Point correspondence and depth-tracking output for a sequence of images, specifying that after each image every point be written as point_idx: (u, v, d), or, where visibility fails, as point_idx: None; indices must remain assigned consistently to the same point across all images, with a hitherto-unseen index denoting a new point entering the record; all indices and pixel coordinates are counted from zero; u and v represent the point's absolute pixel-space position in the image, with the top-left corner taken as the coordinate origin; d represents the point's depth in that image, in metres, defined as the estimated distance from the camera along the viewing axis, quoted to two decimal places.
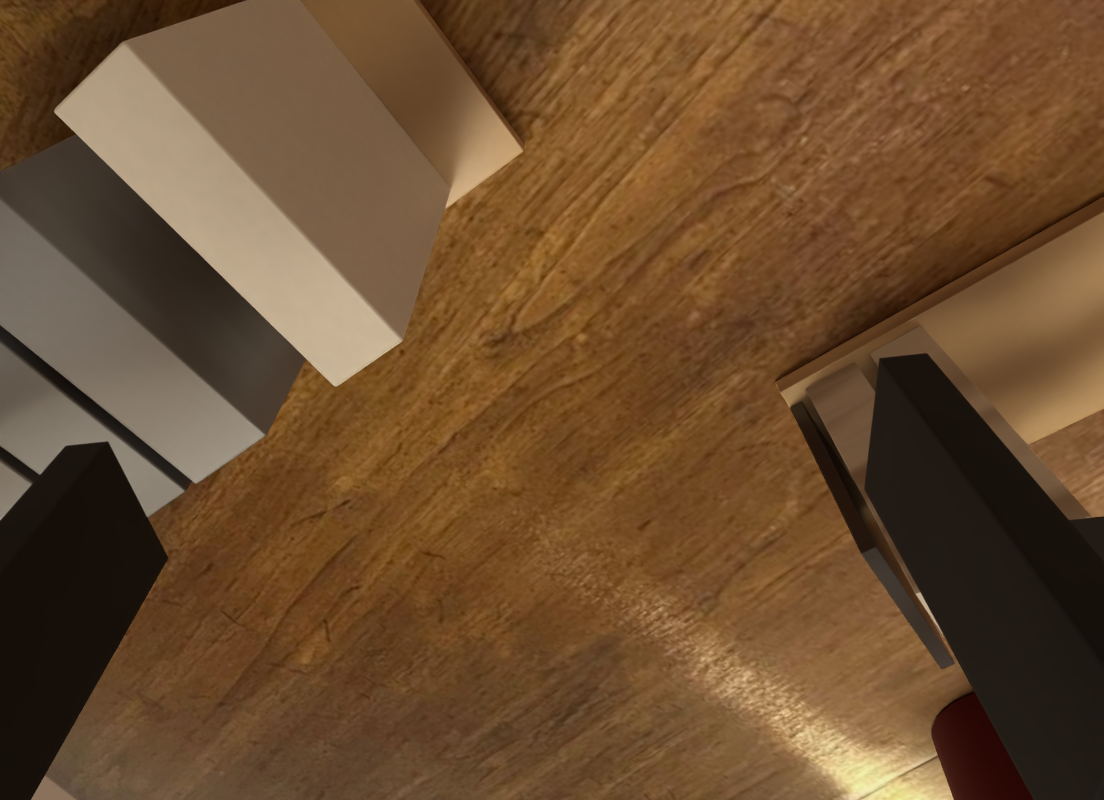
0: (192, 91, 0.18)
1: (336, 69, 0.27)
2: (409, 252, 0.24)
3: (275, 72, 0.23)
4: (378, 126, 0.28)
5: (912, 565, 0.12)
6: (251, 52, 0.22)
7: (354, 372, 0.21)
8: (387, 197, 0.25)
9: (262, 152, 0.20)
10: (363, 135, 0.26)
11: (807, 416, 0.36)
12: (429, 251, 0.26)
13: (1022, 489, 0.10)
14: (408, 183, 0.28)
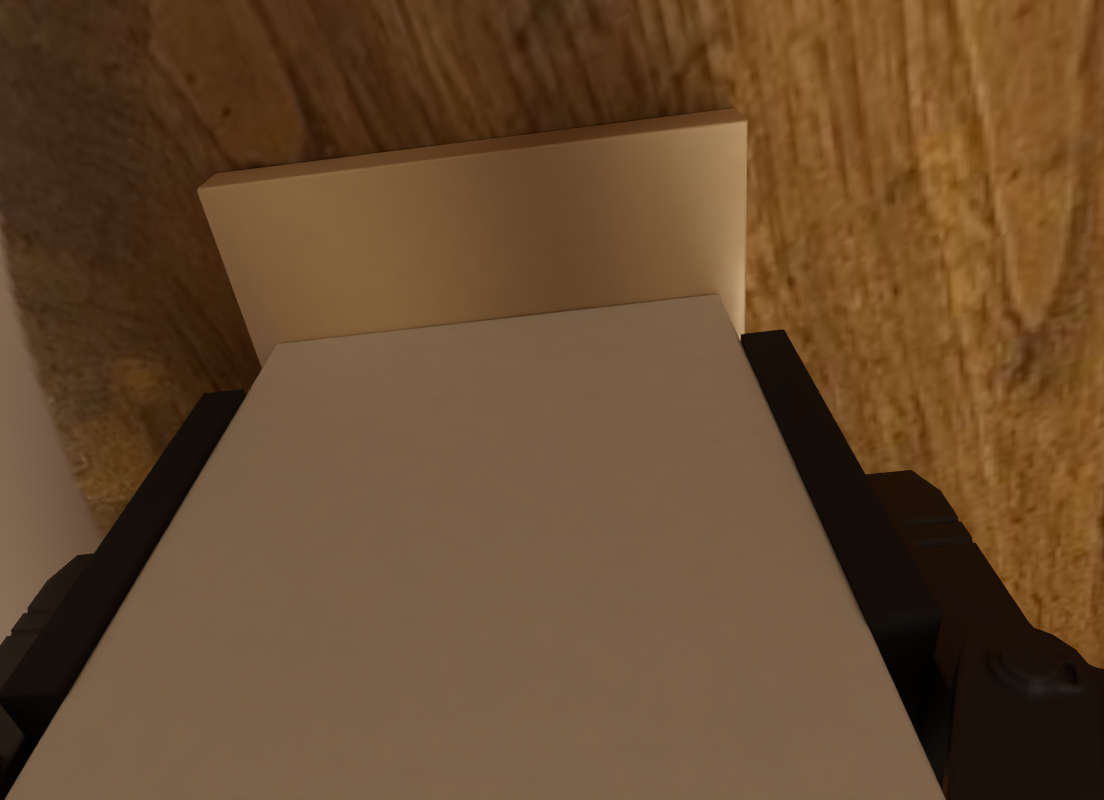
0: None
1: (407, 376, 0.14)
2: (794, 627, 0.09)
3: (276, 588, 0.10)
4: (531, 376, 0.14)
5: None
6: (208, 618, 0.10)
7: None
8: (643, 528, 0.10)
9: None
10: (515, 442, 0.12)
11: None
12: (818, 528, 0.10)
13: (831, 444, 0.11)
14: (655, 411, 0.12)
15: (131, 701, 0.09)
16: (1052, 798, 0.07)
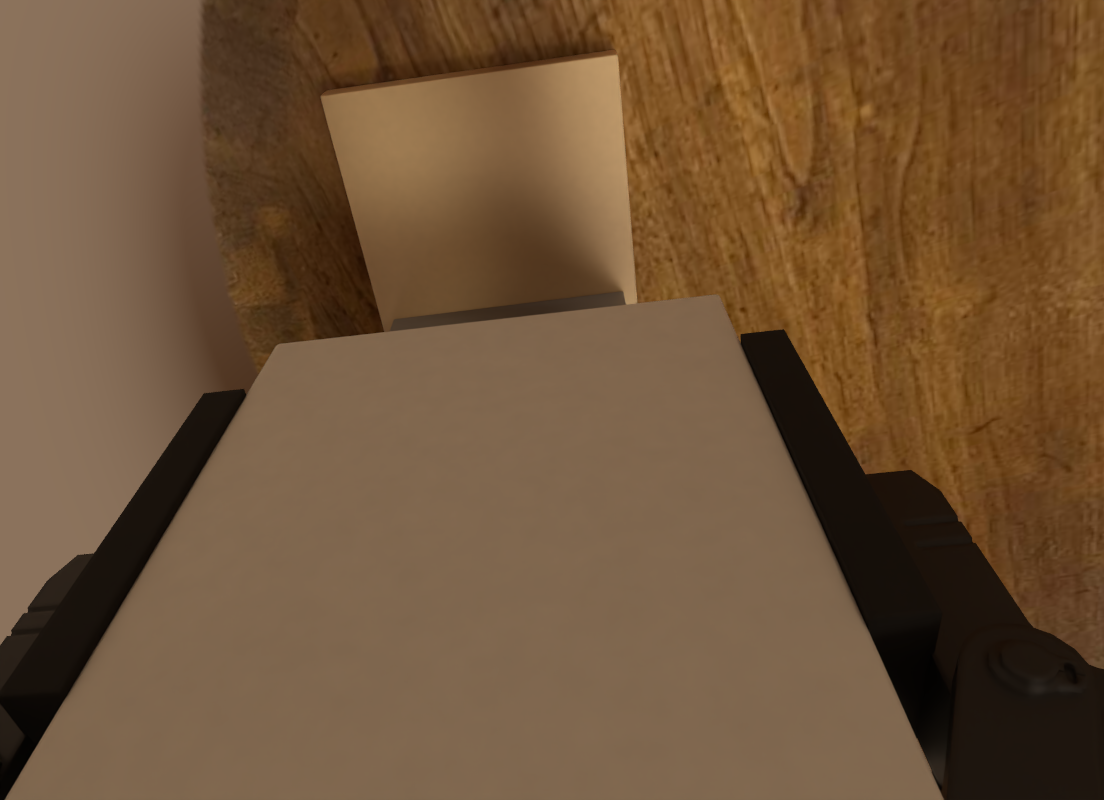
0: None
1: (407, 376, 0.14)
2: (792, 626, 0.09)
3: (276, 588, 0.10)
4: (530, 375, 0.14)
5: None
6: (208, 617, 0.10)
7: None
8: (643, 528, 0.10)
9: None
10: (514, 442, 0.12)
11: None
12: (816, 528, 0.10)
13: (830, 444, 0.11)
14: (653, 411, 0.12)
15: (131, 700, 0.09)
16: (1052, 798, 0.07)
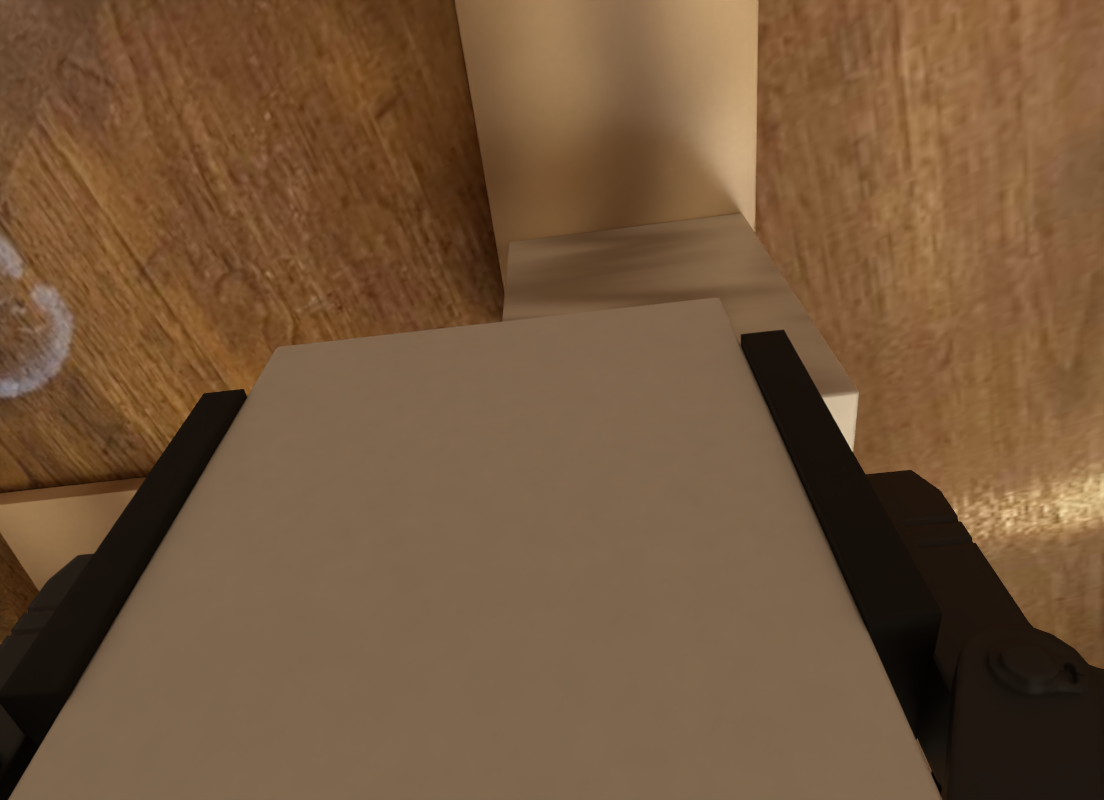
0: None
1: (407, 380, 0.14)
2: (793, 632, 0.09)
3: (277, 592, 0.10)
4: (531, 379, 0.14)
5: None
6: (209, 623, 0.10)
7: None
8: (643, 533, 0.10)
9: None
10: (515, 446, 0.12)
11: None
12: (817, 533, 0.10)
13: (831, 444, 0.11)
14: (654, 415, 0.12)
15: (131, 706, 0.09)
16: (1052, 798, 0.07)
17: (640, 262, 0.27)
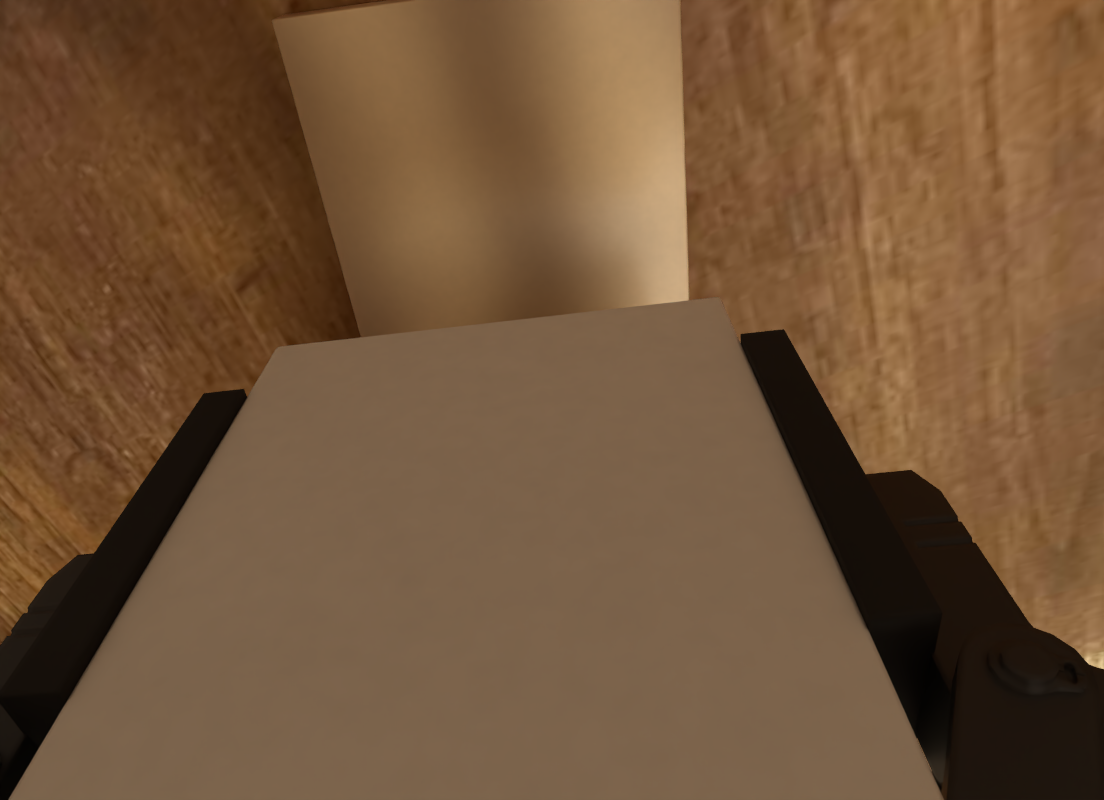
0: None
1: (407, 380, 0.14)
2: (794, 632, 0.09)
3: (276, 592, 0.10)
4: (531, 379, 0.14)
5: None
6: (209, 623, 0.10)
7: None
8: (644, 533, 0.10)
9: None
10: (515, 446, 0.12)
11: None
12: (818, 533, 0.10)
13: (831, 444, 0.11)
14: (655, 415, 0.12)
15: (131, 707, 0.09)
16: (1052, 798, 0.07)
17: None
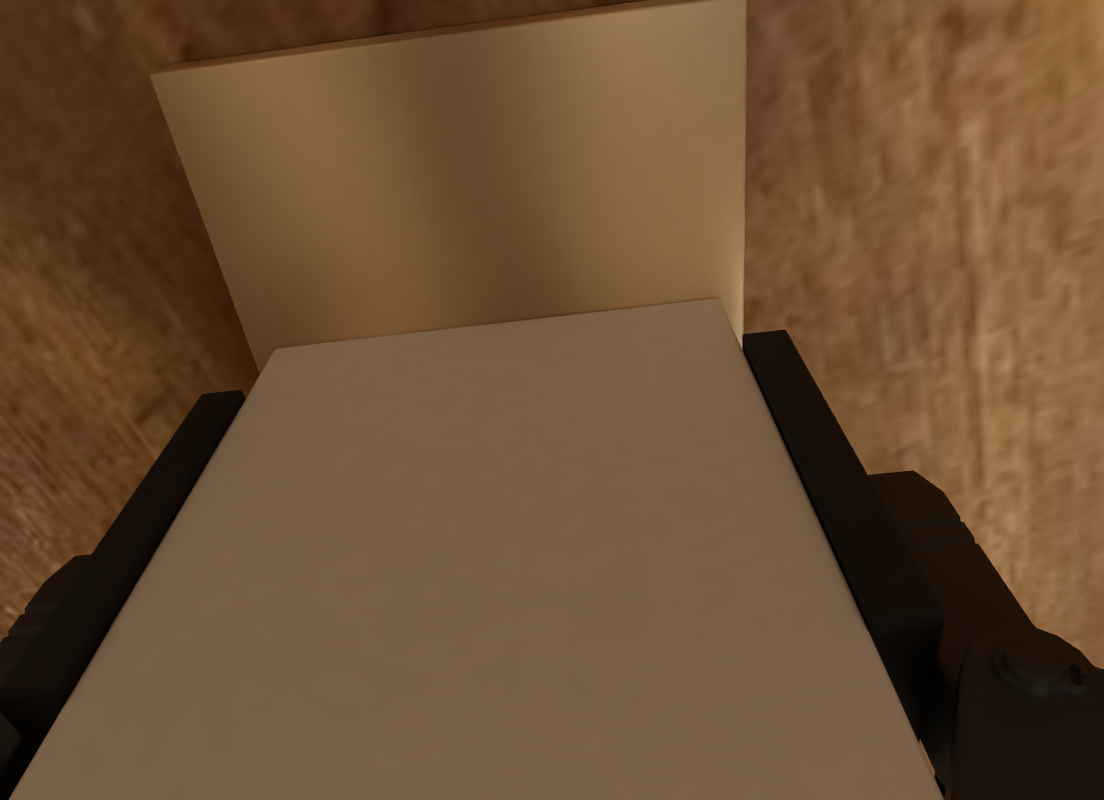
0: None
1: (406, 381, 0.14)
2: (794, 635, 0.08)
3: (275, 595, 0.10)
4: (530, 380, 0.14)
5: None
6: (207, 626, 0.10)
7: None
8: (643, 535, 0.10)
9: None
10: (515, 447, 0.12)
11: None
12: (819, 535, 0.10)
13: (833, 444, 0.11)
14: (654, 416, 0.12)
15: (129, 710, 0.09)
16: None
17: None
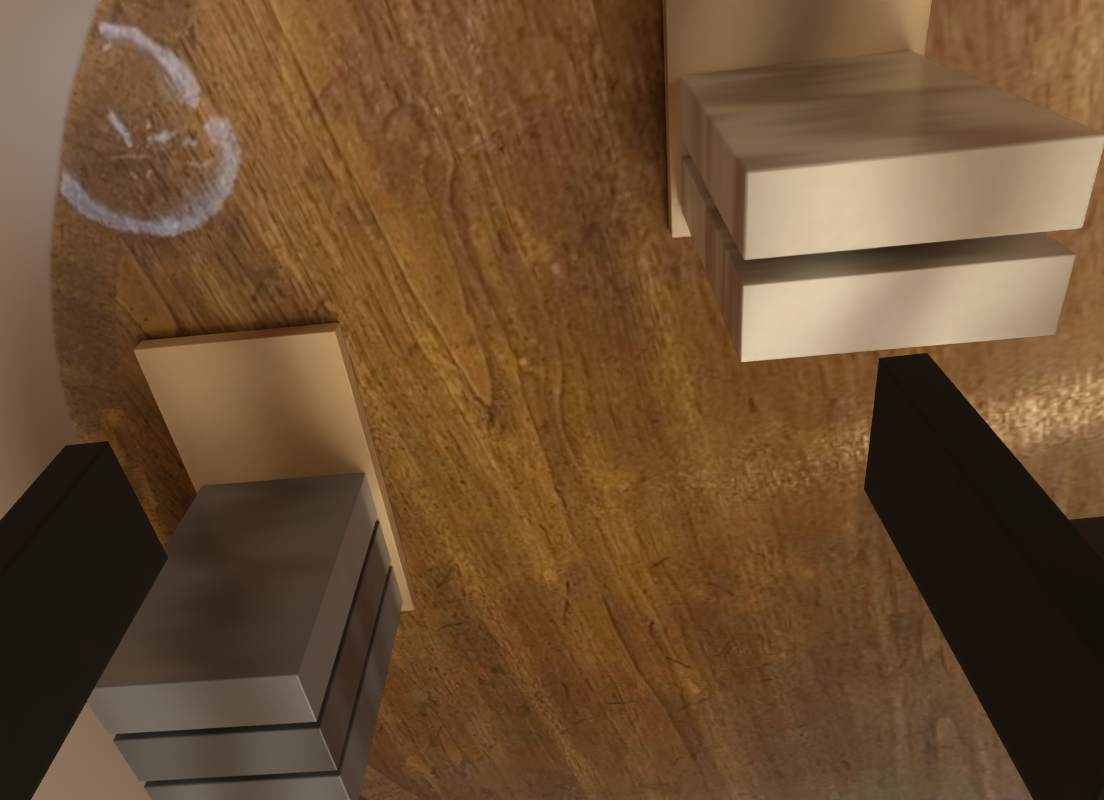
0: None
1: None
2: None
3: None
4: None
5: (912, 565, 0.12)
6: None
7: None
8: None
9: None
10: None
11: None
12: None
13: (1022, 489, 0.10)
14: None
15: None
16: None
17: (827, 79, 0.28)
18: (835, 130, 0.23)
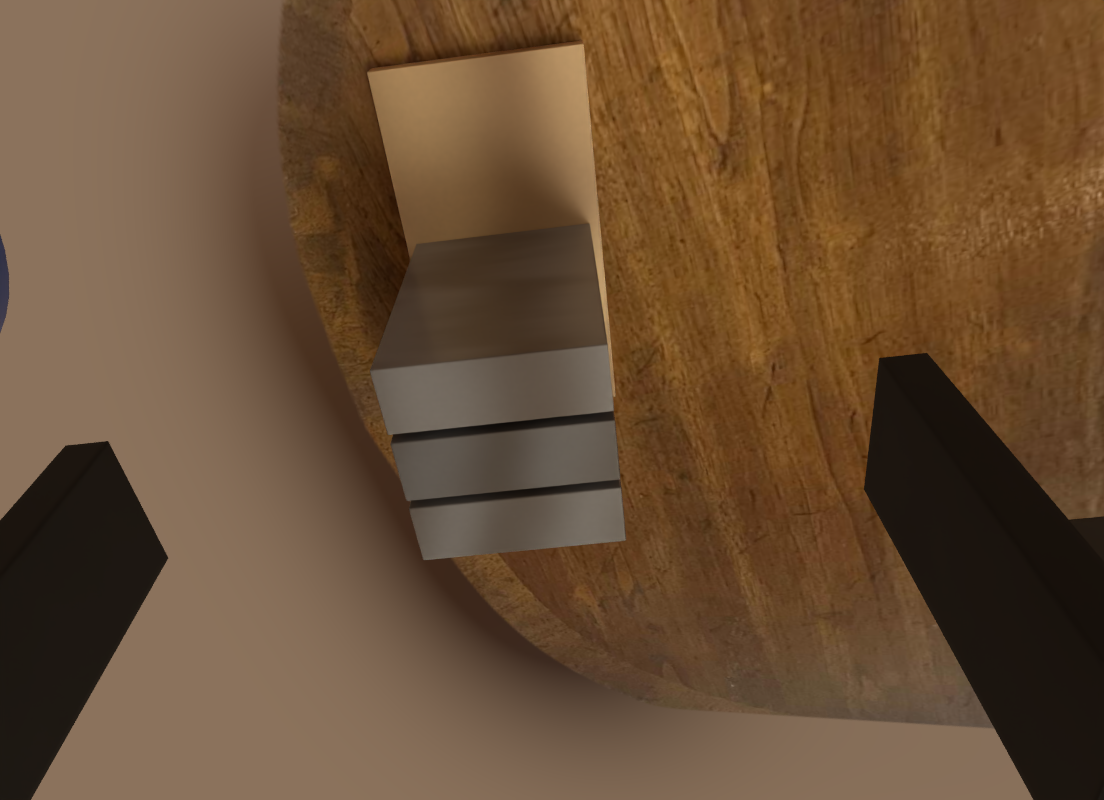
0: None
1: None
2: None
3: None
4: None
5: (912, 565, 0.12)
6: None
7: None
8: None
9: None
10: None
11: None
12: None
13: (1022, 489, 0.10)
14: None
15: None
16: None
17: None
18: None
